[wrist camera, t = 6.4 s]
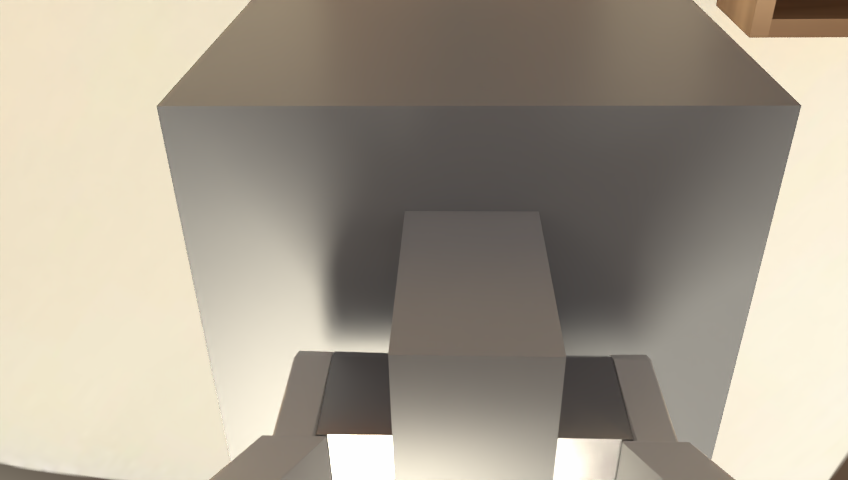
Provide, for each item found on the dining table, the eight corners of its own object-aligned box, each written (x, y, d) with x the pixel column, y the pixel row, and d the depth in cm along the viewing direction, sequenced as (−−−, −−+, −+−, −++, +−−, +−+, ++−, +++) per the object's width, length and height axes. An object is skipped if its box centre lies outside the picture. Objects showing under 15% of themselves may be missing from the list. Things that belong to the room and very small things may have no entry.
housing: (260, -10, 15) (48, 226, 7) (679, -13, 15) (930, 231, 7) (300, 321, 19) (195, 694, 11) (627, 324, 19) (747, 711, 11)
